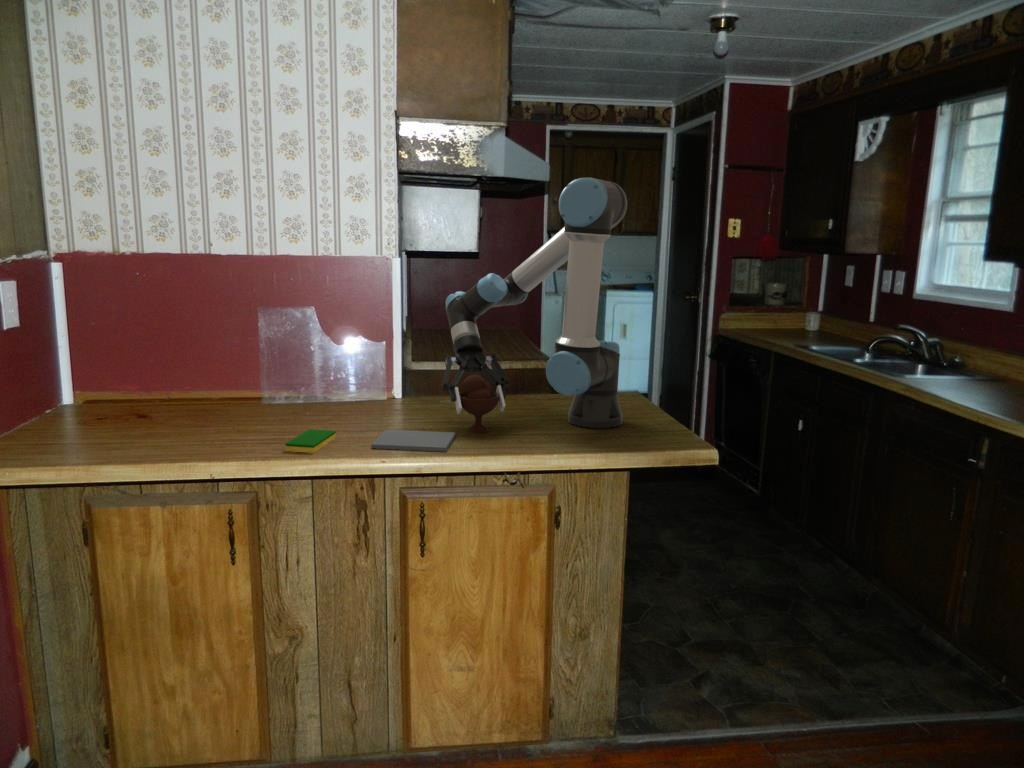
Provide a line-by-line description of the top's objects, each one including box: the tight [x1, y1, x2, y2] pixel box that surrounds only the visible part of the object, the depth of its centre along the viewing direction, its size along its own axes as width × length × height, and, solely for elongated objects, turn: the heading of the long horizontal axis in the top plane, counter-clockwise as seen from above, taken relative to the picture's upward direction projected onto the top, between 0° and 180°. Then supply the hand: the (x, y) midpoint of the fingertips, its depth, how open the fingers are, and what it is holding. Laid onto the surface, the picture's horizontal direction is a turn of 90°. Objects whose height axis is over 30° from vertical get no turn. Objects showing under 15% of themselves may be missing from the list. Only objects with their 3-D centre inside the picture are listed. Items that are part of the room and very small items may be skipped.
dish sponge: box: [285, 429, 337, 454], centre depth 180 cm, size 7×14×2 cm, turn 172°
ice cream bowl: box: [459, 374, 499, 434], centre depth 195 cm, size 11×11×15 cm
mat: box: [370, 429, 456, 453], centre depth 184 cm, size 18×14×1 cm
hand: (481, 409), depth 193 cm, fingers closed on ice cream bowl, 11 cm apart
